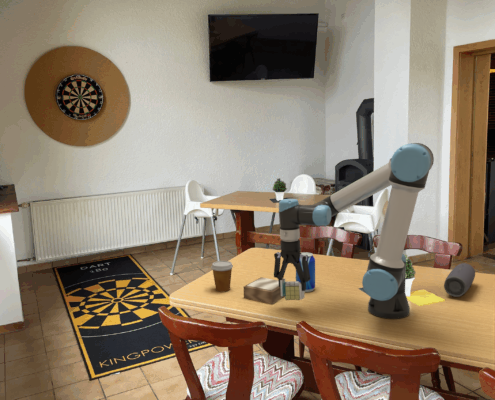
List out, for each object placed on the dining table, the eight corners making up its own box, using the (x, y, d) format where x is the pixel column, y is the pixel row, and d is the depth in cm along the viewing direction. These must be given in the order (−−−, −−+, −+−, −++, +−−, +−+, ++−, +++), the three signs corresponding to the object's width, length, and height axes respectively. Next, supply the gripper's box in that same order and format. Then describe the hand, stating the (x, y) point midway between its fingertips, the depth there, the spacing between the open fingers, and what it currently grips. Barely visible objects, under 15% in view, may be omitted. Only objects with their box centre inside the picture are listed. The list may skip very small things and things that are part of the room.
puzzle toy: (285, 295, 176) (284, 281, 176) (300, 294, 176) (299, 281, 175) (285, 300, 171) (284, 286, 170) (300, 300, 170) (299, 285, 169)
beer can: (314, 293, 191) (314, 257, 189) (295, 292, 193) (294, 256, 190) (315, 286, 199) (315, 251, 197) (296, 285, 201) (296, 251, 198)
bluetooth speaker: (453, 281, 201) (453, 260, 199) (476, 285, 195) (477, 263, 194) (441, 297, 182) (442, 274, 181) (466, 302, 177) (467, 277, 176)
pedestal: (288, 293, 192) (288, 281, 191) (272, 304, 180) (272, 291, 179) (261, 288, 199) (261, 276, 198) (243, 297, 188) (243, 285, 187)
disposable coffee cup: (237, 288, 199) (237, 262, 197) (222, 294, 192) (221, 268, 190) (223, 284, 205) (222, 259, 204) (207, 290, 198) (206, 264, 197)
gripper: (262, 239, 173) (265, 296, 176) (310, 243, 161) (312, 304, 164) (272, 235, 179) (274, 290, 182) (318, 239, 168) (320, 297, 171)
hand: (292, 296), depth 173 cm, fingers closed on puzzle toy, 7 cm apart
